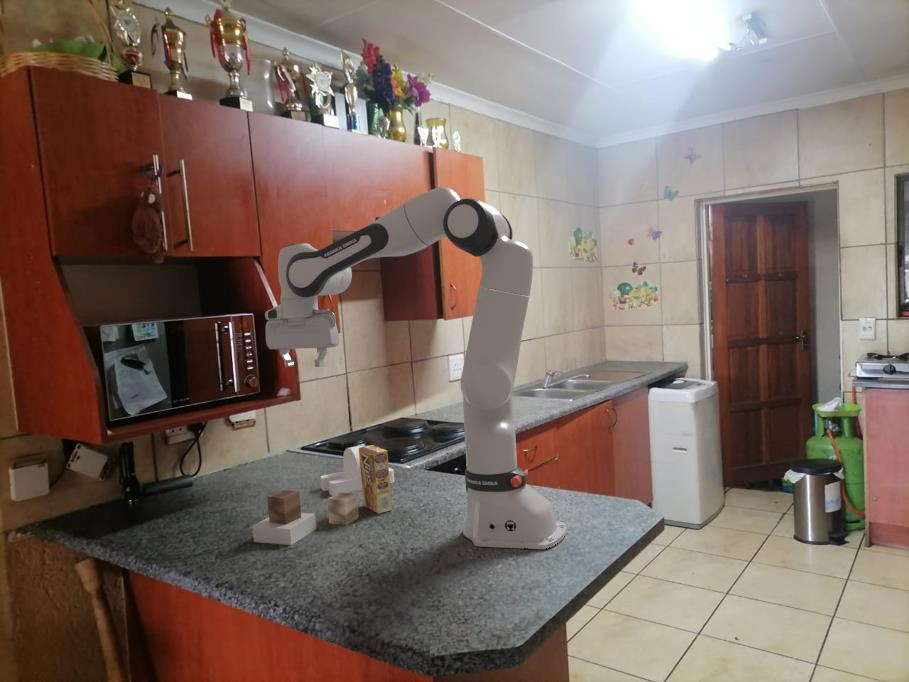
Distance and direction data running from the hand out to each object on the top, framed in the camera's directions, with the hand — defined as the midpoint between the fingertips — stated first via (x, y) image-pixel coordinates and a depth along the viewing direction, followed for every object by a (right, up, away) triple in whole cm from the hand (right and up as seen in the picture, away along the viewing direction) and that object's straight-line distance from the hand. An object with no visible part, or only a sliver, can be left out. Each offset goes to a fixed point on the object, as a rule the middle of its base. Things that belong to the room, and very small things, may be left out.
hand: (304, 366), depth 160 cm
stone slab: (-2, -39, -11) cm, 40 cm away
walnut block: (-2, -35, -11) cm, 36 cm away
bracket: (+10, -35, +26) cm, 45 cm away
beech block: (+10, -37, -4) cm, 39 cm away
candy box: (+18, -36, +4) cm, 40 cm away
